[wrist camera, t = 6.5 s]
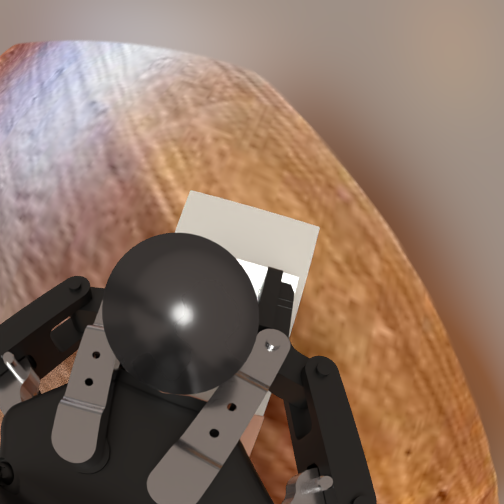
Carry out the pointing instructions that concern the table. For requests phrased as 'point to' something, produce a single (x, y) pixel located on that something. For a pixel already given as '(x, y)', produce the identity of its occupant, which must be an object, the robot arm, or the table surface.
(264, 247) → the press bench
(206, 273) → the press jaw
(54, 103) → the table surface
